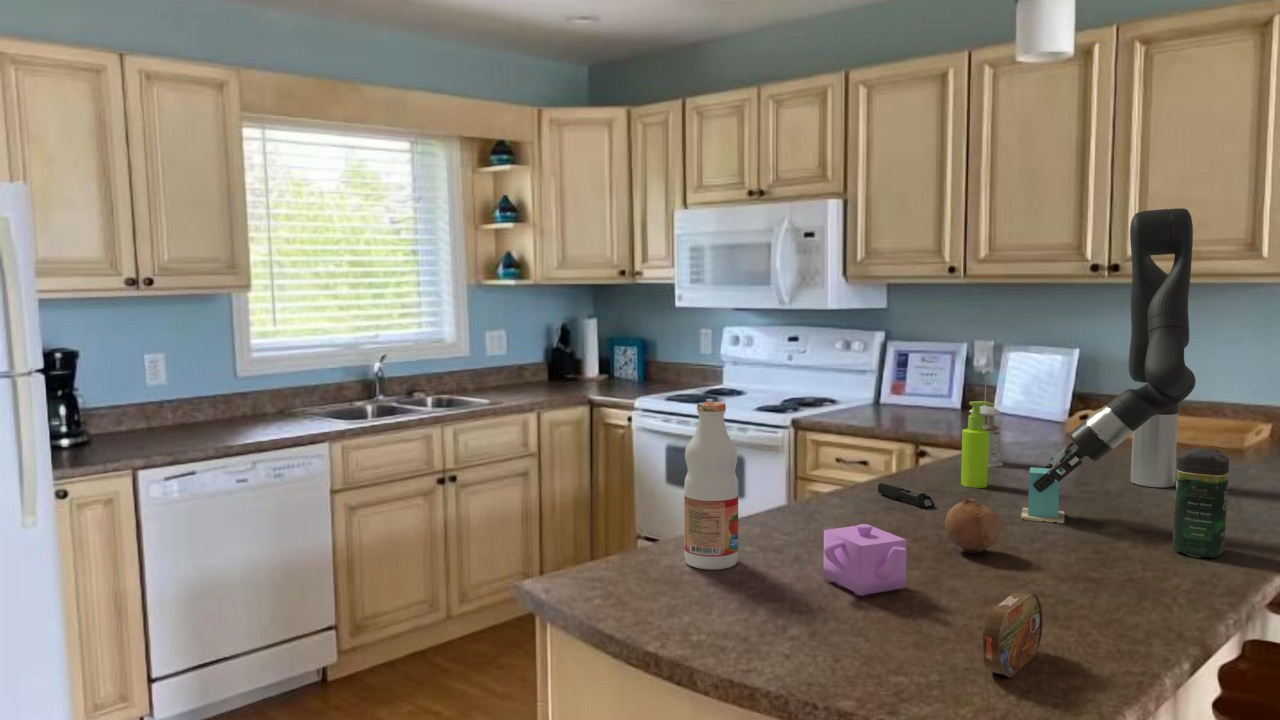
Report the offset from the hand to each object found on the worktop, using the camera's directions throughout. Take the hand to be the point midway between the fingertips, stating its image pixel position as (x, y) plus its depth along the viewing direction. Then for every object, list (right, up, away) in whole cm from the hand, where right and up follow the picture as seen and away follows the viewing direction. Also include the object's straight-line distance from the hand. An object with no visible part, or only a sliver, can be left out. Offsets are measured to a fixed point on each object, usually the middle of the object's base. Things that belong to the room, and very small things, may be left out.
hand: (1036, 484), depth 191 cm
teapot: (-46, -11, -43) cm, 64 cm away
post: (+1, -7, 0) cm, 7 cm away
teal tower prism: (+1, -6, 0) cm, 6 cm away
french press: (+10, -2, +56) cm, 57 cm away
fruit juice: (-69, -10, -29) cm, 76 cm away
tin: (-34, -14, -71) cm, 80 cm away
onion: (-22, -9, -24) cm, 34 cm away
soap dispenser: (-2, -4, +29) cm, 29 cm away
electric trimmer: (-23, -6, +14) cm, 28 cm away
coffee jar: (+19, -9, -24) cm, 32 cm away
